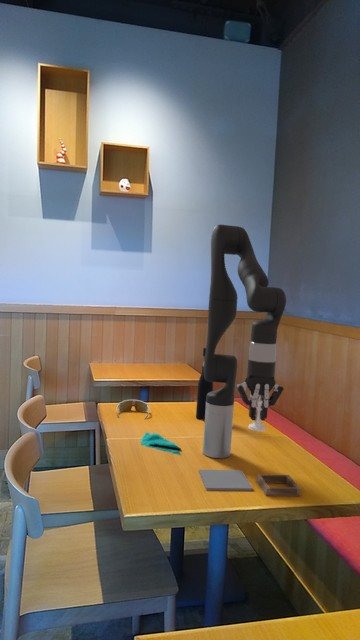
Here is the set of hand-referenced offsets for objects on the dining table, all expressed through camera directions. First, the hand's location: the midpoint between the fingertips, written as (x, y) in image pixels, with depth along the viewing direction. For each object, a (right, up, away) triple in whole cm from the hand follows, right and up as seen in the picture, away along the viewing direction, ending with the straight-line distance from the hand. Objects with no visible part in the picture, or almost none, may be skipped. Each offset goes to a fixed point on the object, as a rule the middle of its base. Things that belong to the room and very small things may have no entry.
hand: (257, 419), depth 130 cm
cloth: (-29, -16, +32) cm, 46 cm away
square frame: (+5, -19, -1) cm, 20 cm away
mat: (-9, -18, +2) cm, 20 cm away
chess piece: (0, -3, 0) cm, 3 cm away
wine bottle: (-12, -14, +68) cm, 71 cm away
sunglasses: (-42, -13, +68) cm, 81 cm away
